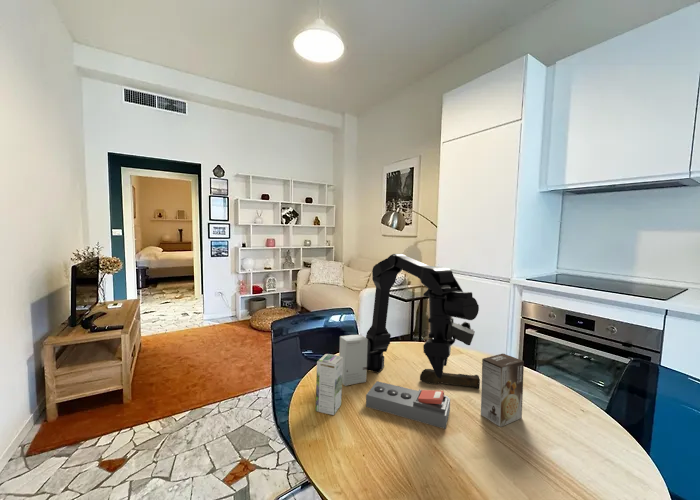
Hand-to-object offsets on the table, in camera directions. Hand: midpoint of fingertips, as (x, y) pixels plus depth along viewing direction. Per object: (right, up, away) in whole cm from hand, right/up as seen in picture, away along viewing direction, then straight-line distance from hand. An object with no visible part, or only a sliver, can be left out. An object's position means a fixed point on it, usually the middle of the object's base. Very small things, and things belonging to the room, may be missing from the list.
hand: (442, 371), depth 81 cm
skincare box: (-24, -11, +20) cm, 33 cm away
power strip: (-9, -12, +4) cm, 15 cm away
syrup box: (-31, -12, +3) cm, 33 cm away
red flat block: (-3, -7, +1) cm, 8 cm away
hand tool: (+8, -12, +18) cm, 23 cm away
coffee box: (+16, -13, +1) cm, 21 cm away
